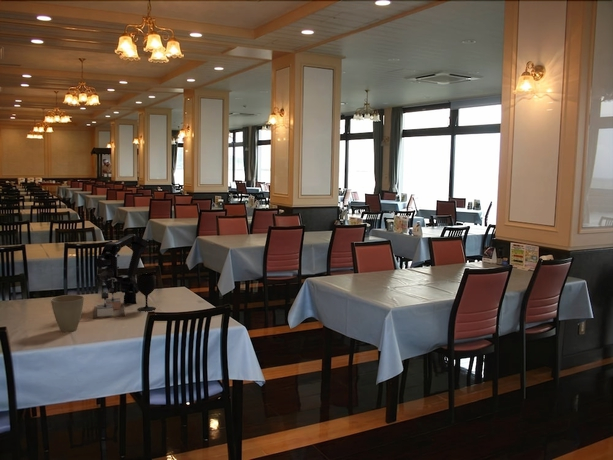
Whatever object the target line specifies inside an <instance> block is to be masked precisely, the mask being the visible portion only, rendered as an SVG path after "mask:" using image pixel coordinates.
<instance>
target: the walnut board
mask: <svg viewBox="0 0 613 460" xmlns="http://www.w3.org/2000/svg"><path fill="white" fill-rule="evenodd" d="M124 305H125V304H120V309H113V315H112V316H98V317H97V305H96V306H94V307H93V315H92V316H93V320H94V319H96V320H97V319H109V318H110V319H111V318H124V316H125V317H126V312H125V306H124Z"/></svg>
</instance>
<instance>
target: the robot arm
mask: <svg viewBox="0 0 613 460" xmlns="http://www.w3.org/2000/svg"><path fill="white" fill-rule="evenodd" d="M127 245H128V246H129V245H131V251H132V253H131V258H130V262H129V265H128V269H127V272H126V275H125V274H121V275H120V273H118V269H120V266H118V257H120V256H121V255H120V254H119V252H120V251H121V249H122V248H124V247H126V246H127ZM147 246H148V242H147V240H146V239H144V238H142V237H140V236H138V235H137V234H133V233H128V234H127V235H125V236H123V237H121V238H120V239H118V240H116V241H110V242H106V243H105V244H104V247H103V249H102V250H101V253H100V255H97V258H96V259H95V262H94V264H95V266H96V267H97V268H99V269H101V268H104V271H102V272H101V273H98V274H96V275H95V280H97V281H101V282H103V283H104V285H105V286H106V288H107V292H109V287H114V292H115V293H114V294H117V292H118V289H119V288H120V290H121V293H123V303H124V305H131V304H132V305H133V304H137V294H139V293H140V291H139V290H138V288H137V278H136V276H137V271H138V267H139V265H140V261H141V255H143V253H144V252H145V251H146V250H147ZM113 280H114V281H113ZM112 284H113V286H112Z"/></svg>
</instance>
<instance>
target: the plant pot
mask: <svg viewBox="0 0 613 460" xmlns="http://www.w3.org/2000/svg"><path fill="white" fill-rule="evenodd" d="M84 299H85V296H83V295H79V294H65V295H64V294H63V295H58V296H55V297H52V298H51V299H50V303H51V307H52V308H51V309H52V313H53V315H54V318H55V321H56V324H57V326H58V328H59V330H60V332H63V333H70V332H76V330H78V327H79V324H80V320H81V317H82V313H83V308H84V302H85V301H84Z"/></svg>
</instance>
